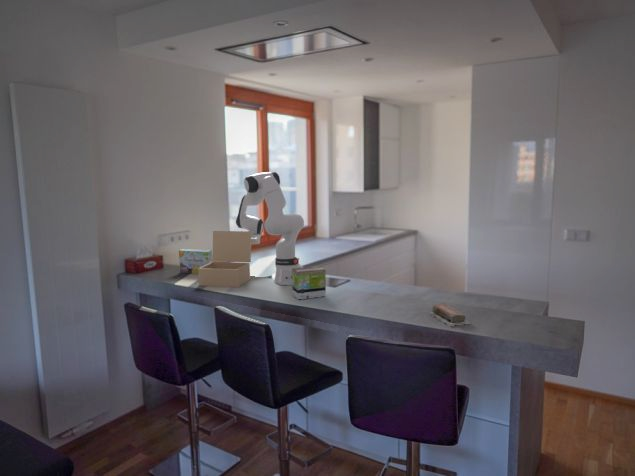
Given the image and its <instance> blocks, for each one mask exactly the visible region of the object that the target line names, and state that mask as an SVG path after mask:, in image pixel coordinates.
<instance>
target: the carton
mask: <svg viewBox="0 0 635 476" xmlns="http://www.w3.org/2000/svg"><path fill="white" fill-rule="evenodd" d="M250 268H251V267H250V262H221V261H212V262H211V263H209V264H207V265H205V266H202V267H200V268H198V274H197V275H198V285H199V286H202V287H223V288H224V287H225V288H226V287H228V288H239V287H241V286H242V285H244V284H246V283H247V282H248V281H250V280H251V270H250ZM240 285H241V286H240Z"/></svg>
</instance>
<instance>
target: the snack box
mask: <svg viewBox="0 0 635 476" xmlns="http://www.w3.org/2000/svg"><path fill="white" fill-rule="evenodd" d="M212 257H213V249H211V250H210V249H192V248H186V249H185V248H182V249H179V250H178V259H179V270H180V273H181V274H192V273H194V275H198V268H200V267H202V266H205V265H207V264H209V263H211V262H213V261H212Z"/></svg>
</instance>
